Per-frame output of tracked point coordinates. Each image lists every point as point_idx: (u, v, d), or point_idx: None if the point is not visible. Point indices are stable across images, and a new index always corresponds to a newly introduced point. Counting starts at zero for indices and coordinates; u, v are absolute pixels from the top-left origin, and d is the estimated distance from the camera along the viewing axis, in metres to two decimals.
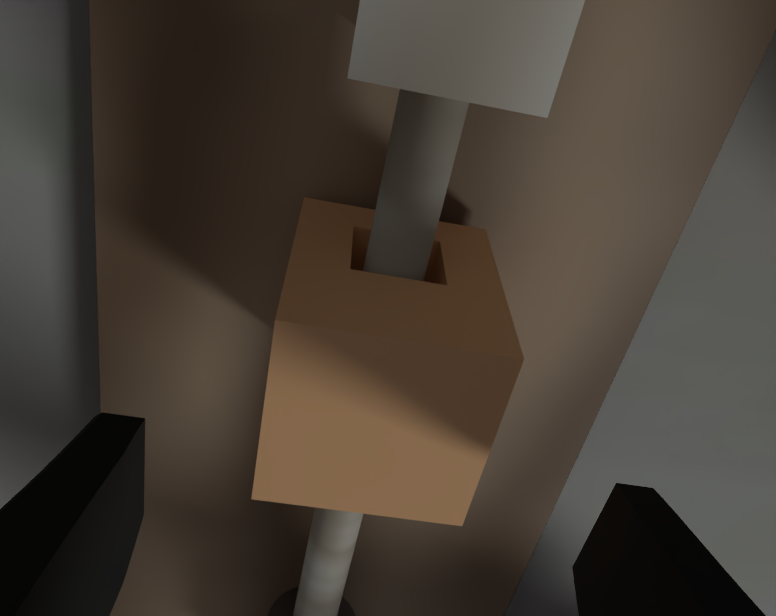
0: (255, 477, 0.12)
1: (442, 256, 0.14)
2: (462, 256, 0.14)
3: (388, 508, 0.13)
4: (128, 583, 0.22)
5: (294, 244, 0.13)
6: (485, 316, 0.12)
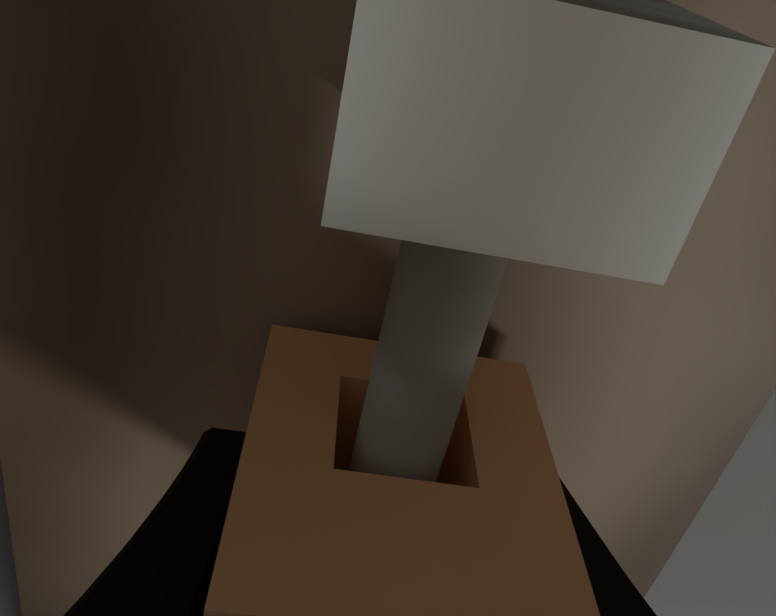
0: None
1: (469, 424, 0.09)
2: (497, 422, 0.10)
3: None
4: None
5: (250, 423, 0.09)
6: (541, 554, 0.08)
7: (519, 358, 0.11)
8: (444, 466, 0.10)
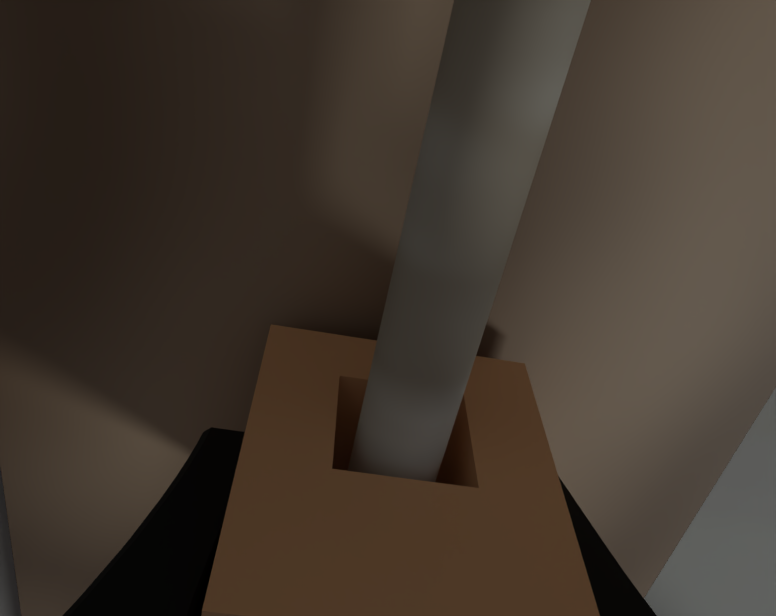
0: None
1: (468, 424, 0.09)
2: (497, 422, 0.10)
3: None
4: None
5: (249, 423, 0.09)
6: (541, 554, 0.08)
7: (579, 191, 0.10)
8: (442, 466, 0.10)
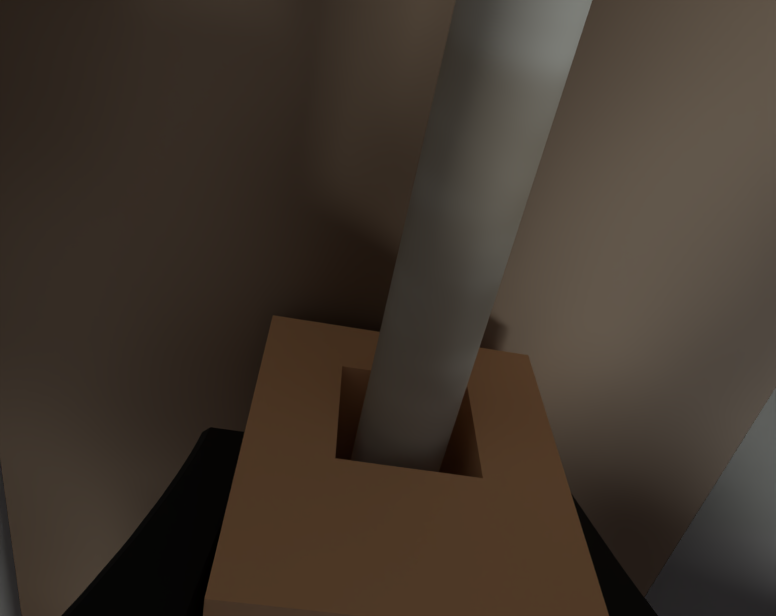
0: None
1: (472, 415, 0.09)
2: (501, 413, 0.09)
3: None
4: (49, 541, 0.14)
5: (251, 413, 0.09)
6: (546, 544, 0.08)
7: None
8: (445, 459, 0.10)
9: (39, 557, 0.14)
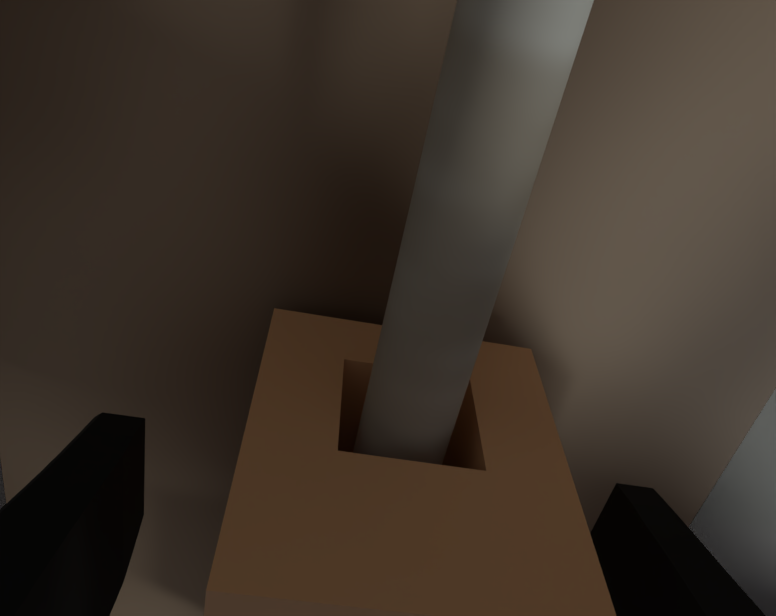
0: None
1: (475, 408, 0.09)
2: (504, 405, 0.09)
3: None
4: None
5: (253, 405, 0.08)
6: (550, 537, 0.08)
7: None
8: (448, 453, 0.10)
9: None
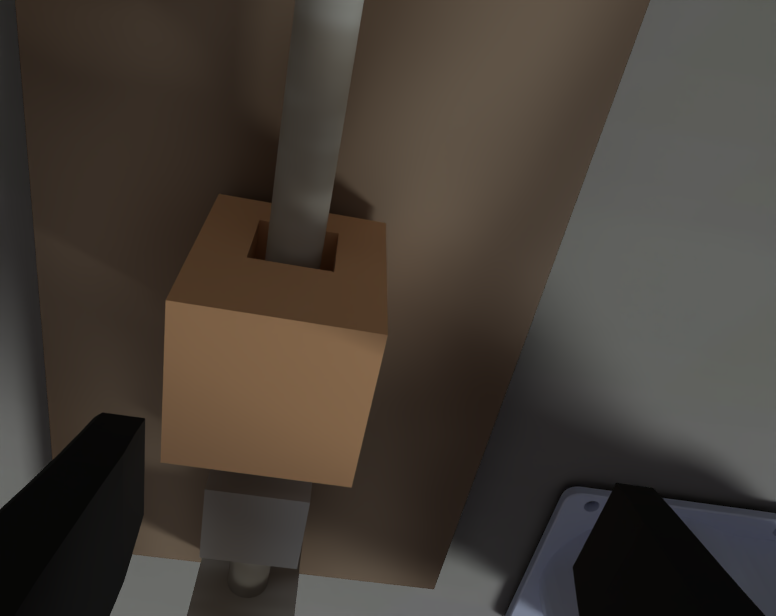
0: (162, 442, 0.14)
1: (337, 246, 0.15)
2: (356, 246, 0.15)
3: (283, 471, 0.14)
4: (71, 371, 0.20)
5: (199, 235, 0.14)
6: (362, 299, 0.14)
7: None
8: None
9: (64, 384, 0.20)
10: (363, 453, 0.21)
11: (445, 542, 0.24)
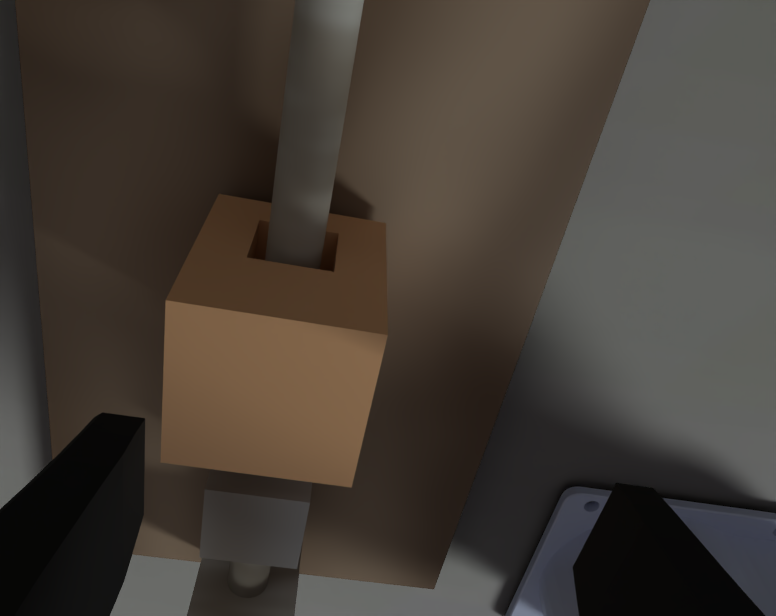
0: (162, 442, 0.14)
1: (337, 246, 0.15)
2: (356, 246, 0.15)
3: (283, 471, 0.14)
4: (71, 371, 0.20)
5: (199, 235, 0.14)
6: (362, 299, 0.14)
7: None
8: None
9: (64, 384, 0.20)
10: (363, 453, 0.21)
11: (445, 542, 0.24)
